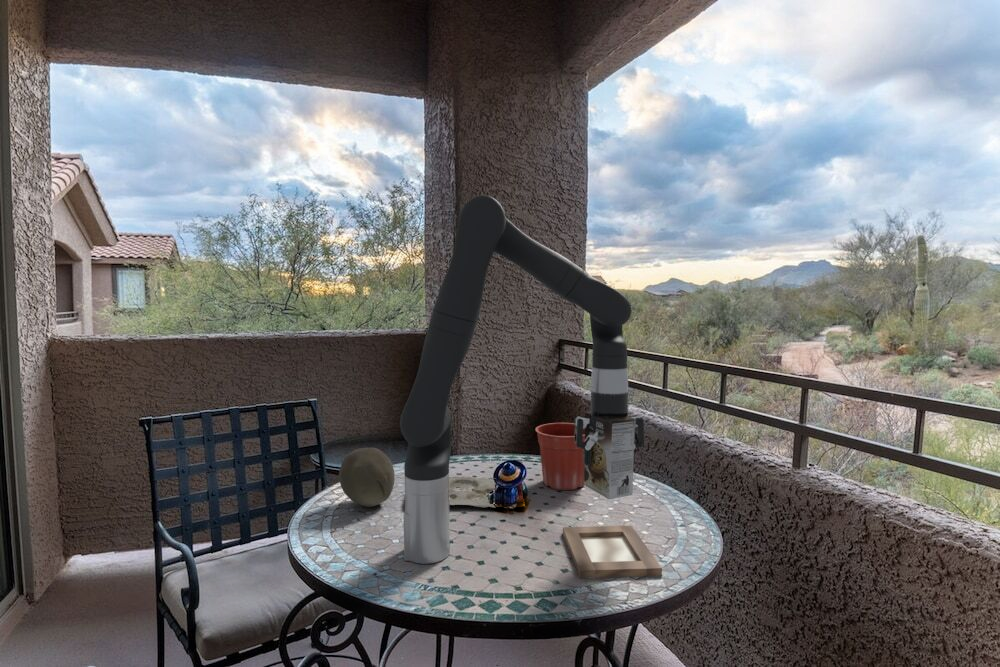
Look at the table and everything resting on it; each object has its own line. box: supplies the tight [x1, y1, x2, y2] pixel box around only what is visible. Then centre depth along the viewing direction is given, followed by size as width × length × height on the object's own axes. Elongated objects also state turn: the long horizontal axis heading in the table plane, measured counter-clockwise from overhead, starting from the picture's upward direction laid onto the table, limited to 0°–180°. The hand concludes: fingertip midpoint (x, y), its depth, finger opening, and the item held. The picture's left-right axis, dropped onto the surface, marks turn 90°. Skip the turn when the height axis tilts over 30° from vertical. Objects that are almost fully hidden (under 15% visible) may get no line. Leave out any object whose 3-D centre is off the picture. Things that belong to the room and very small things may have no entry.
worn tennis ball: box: [338, 447, 396, 508], centre depth 134 cm, size 14×14×15 cm
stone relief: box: [449, 476, 496, 508], centre depth 141 cm, size 32×3×20 cm
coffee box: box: [584, 410, 635, 500], centre depth 107 cm, size 9×6×16 cm
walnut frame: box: [562, 524, 663, 579], centre depth 109 cm, size 16×19×2 cm
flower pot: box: [535, 422, 585, 491], centre depth 150 cm, size 16×16×16 cm
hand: (608, 466), depth 108 cm, fingers closed on coffee box, 8 cm apart
